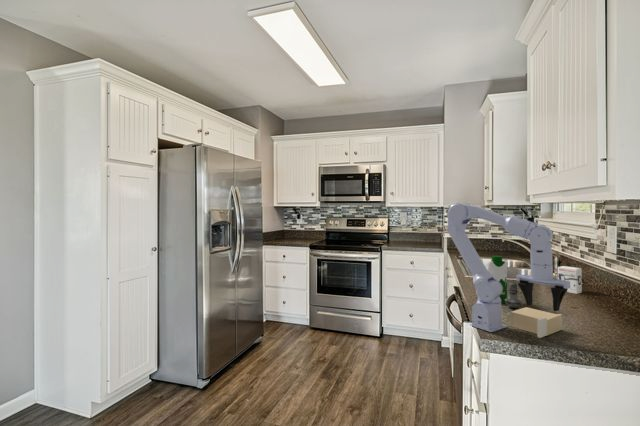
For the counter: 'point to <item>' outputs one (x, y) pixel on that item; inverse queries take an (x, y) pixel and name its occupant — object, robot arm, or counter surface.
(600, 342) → the counter surface
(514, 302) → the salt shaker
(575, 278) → the ink box
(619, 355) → the counter surface
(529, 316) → the carton
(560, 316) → the flap
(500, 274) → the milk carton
